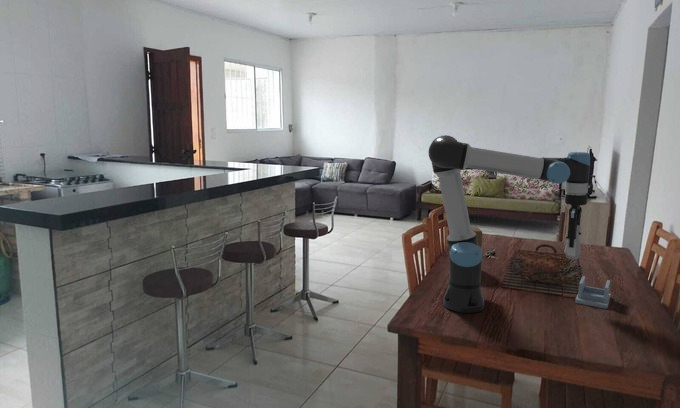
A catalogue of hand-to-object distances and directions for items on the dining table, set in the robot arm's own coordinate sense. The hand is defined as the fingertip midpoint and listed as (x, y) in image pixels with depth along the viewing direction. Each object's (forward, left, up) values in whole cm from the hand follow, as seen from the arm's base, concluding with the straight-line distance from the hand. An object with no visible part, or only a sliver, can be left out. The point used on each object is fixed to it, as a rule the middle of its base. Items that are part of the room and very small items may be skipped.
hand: (572, 253), depth 186 cm
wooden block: (+17, +46, -20) cm, 53 cm away
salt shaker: (0, 0, -2) cm, 2 cm away
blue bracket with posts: (+7, -8, -20) cm, 22 cm away
